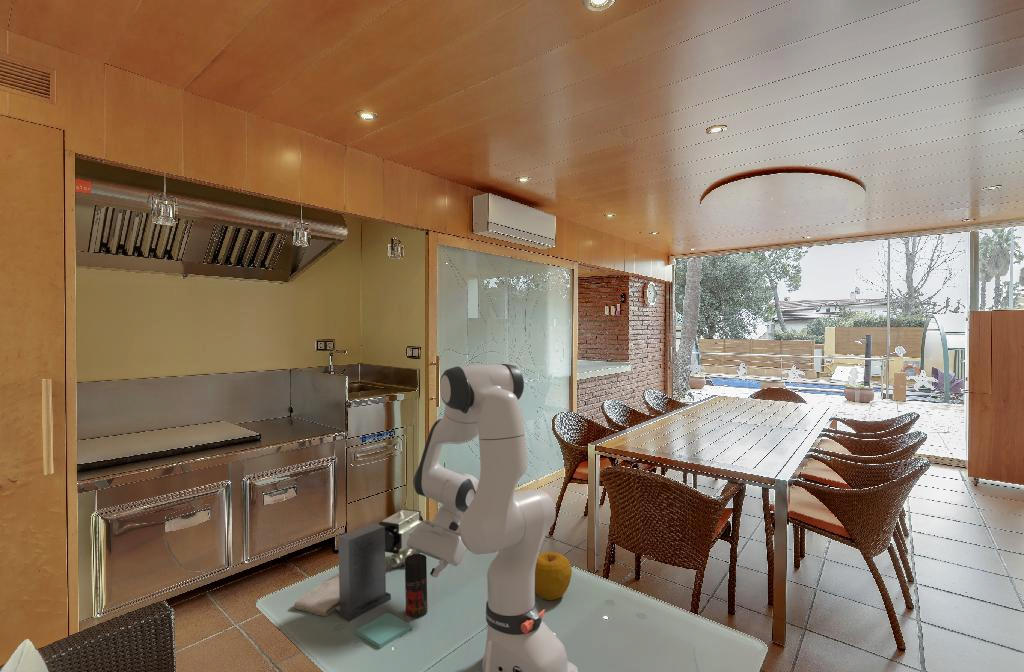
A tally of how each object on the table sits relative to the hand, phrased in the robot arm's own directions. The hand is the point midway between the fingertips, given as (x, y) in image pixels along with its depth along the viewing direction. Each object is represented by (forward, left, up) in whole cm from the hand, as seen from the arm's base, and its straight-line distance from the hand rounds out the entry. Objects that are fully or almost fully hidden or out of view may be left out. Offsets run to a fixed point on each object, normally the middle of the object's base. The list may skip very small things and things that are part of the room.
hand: (421, 571), depth 136 cm
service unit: (+15, +9, -11) cm, 20 cm away
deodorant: (0, +2, -11) cm, 11 cm away
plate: (0, +13, -11) cm, 17 cm away
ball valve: (+27, -15, -11) cm, 33 cm away
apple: (-25, -28, -11) cm, 39 cm away
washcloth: (+27, +12, -11) cm, 31 cm away
